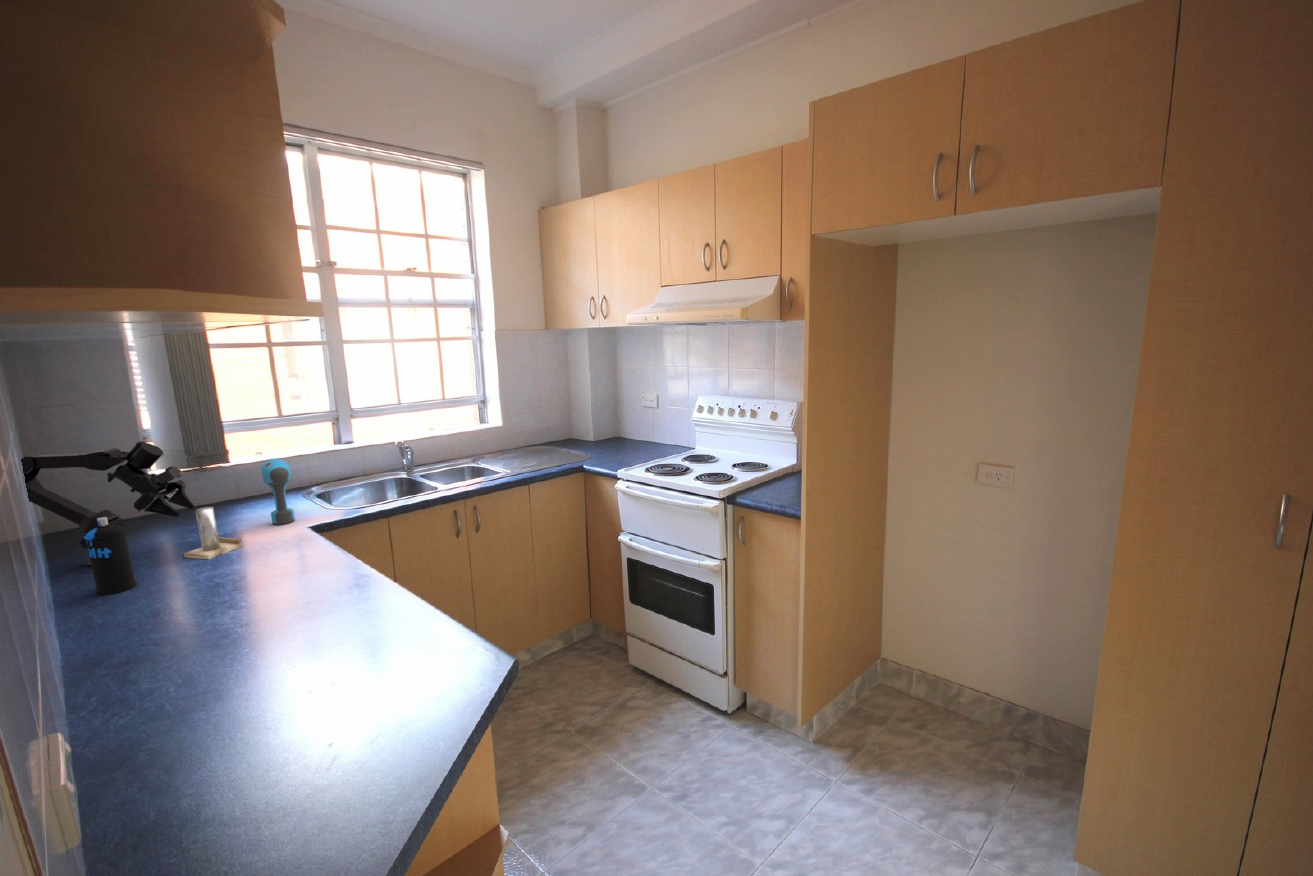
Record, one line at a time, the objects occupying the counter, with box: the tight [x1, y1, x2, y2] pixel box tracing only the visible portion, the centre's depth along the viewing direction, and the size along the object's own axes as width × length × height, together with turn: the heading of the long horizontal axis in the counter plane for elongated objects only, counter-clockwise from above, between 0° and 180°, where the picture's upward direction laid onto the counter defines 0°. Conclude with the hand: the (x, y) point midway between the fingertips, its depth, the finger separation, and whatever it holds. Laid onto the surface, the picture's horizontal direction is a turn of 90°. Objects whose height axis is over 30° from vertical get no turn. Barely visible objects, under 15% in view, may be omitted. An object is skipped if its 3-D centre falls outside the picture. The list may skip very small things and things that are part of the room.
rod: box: [195, 506, 220, 551], centre depth 182 cm, size 4×4×13 cm
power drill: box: [260, 458, 296, 526], centre depth 214 cm, size 28×9×23 cm, turn 40°
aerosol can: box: [83, 517, 138, 596], centre depth 156 cm, size 8×8×20 cm
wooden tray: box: [183, 536, 244, 560], centre depth 184 cm, size 11×10×3 cm
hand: (186, 511), depth 181 cm, fingers open, 9 cm apart
